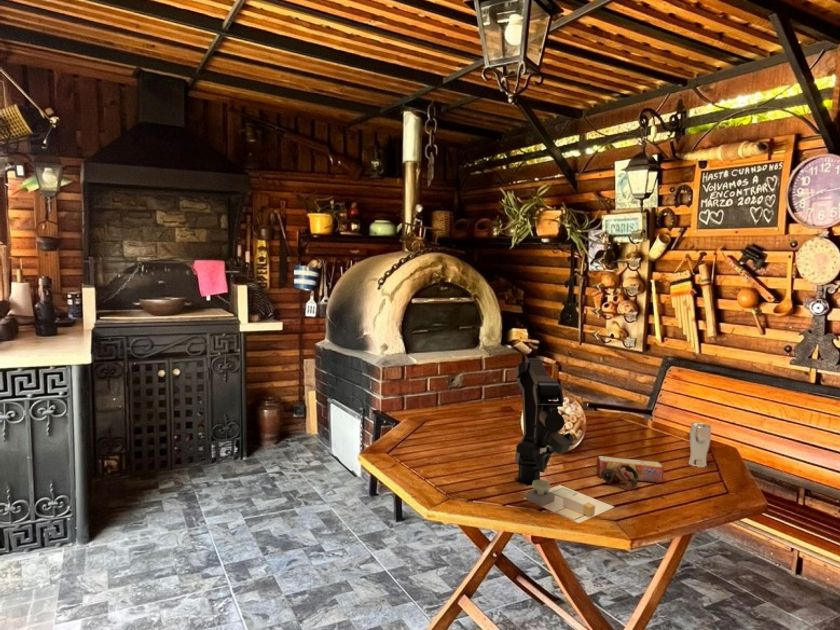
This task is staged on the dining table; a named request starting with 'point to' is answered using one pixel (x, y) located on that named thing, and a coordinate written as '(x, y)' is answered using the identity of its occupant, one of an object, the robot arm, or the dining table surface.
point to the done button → (540, 486)
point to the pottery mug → (620, 475)
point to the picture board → (568, 513)
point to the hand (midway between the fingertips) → (541, 471)
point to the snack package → (643, 468)
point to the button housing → (540, 497)
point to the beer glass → (699, 443)
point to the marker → (578, 505)
